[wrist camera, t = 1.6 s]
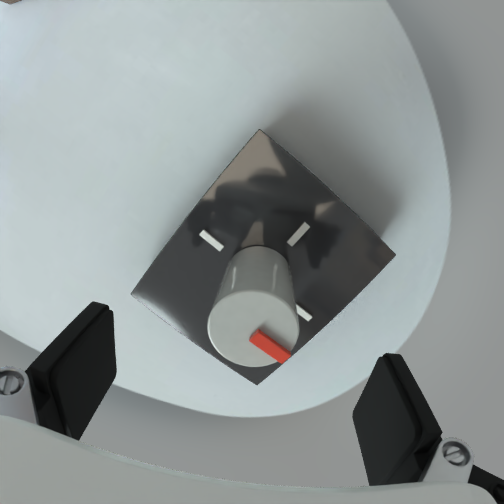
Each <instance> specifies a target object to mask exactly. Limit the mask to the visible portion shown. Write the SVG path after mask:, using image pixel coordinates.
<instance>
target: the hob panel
mask: <svg viewBox="0 0 504 504" xmlns="http://www.w3.org/2000/svg"><path fill="white" fill-rule="evenodd" d="M254 246H262V247H267V248H270V249H273V250H275V251H277V252H278V253H280V254H281V255H282V256H283V257H284V258H285V259H286V261H287V262H288V264H289V266H290V269H291V273H292V280H293V287H294V293H295V300H296V307H297V314H298V321H299V336H298V339H297V342H296V344H295V346H294V347H293V349H292V350H291V351H290V352H291V356H292V355H294V354H295V353H296V352H297V351H298V350H299V349H300V348H302V347H303V346H304V345H305V344H306V343H307V342H308V341H309V340H310V339H312V338H313V337H314V336H315V335H316V334H317V333H318V332H319V331H320V330H321V329H322V328H324V327H325V326H326V325H327V324H328V323H329V322H330V321H331V320H332V319H333V318H334V317H335V316H336V315H337V314H338V313H339V312H341V311H342V310H343V309H344V308H345V307H346V306H347V305H348V304H349V303H350V302H351V301H352V300H353V299H354V298H355V297H356V296H357V295H358V294H359V293H360V292H361V291H362V290H363V289H364V288H365V287H366V286H367V285H368V284H369V283H370V282H371V281H372V280H373V279H374V278H375V277H376V276H377V275H378V274H379V273H380V272H381V270H382V269H383V268H384V267H385V266H386V265H387V264H388V263H389V262H390V261H391V260H392V259H393V258H394V257H395V256H396V254H395V253H394V252H393V251H392V250H391V249H390V248H389V247H388V246H387V245H386V244H385V243H384V242H383V241H382V240H381V239H380V238H379V237H378V236H377V235H376V234H375V233H374V232H373V231H372V230H371V229H370V228H369V227H368V226H367V225H366V224H365V223H364V222H363V221H362V220H361V219H360V218H359V217H358V216H357V215H356V214H355V213H354V212H353V211H352V210H351V209H350V208H349V207H348V206H347V205H346V204H345V203H344V202H343V201H342V200H340V199H339V198H338V197H337V196H336V195H335V194H334V193H333V192H332V191H331V190H330V189H329V188H328V187H326V186H325V185H324V184H323V183H322V182H321V181H320V180H319V179H318V178H317V177H315V176H314V175H313V174H312V173H311V172H310V171H309V170H308V169H306V168H305V167H304V166H303V165H302V164H301V163H300V162H298V161H297V160H296V159H295V158H294V157H293V156H291V155H290V154H289V153H288V152H287V151H286V150H284V149H283V148H282V147H281V146H280V145H279V144H277V143H276V142H275V141H274V140H273V139H271V138H270V137H269V136H268V135H266V134H265V133H264V132H263V131H262V130H260V129H259V130H258V131H257V132H256V133H255V134H254V135H253V137H252V138H251V139H250V140H249V141H248V142H247V144H246V145H245V146H244V147H243V148H242V149H241V151H240V152H239V153H238V154H237V155H236V157H235V158H234V159H233V160H232V161H231V163H230V164H229V165H228V166H227V167H226V169H225V170H224V171H223V172H222V174H221V175H220V176H219V177H218V178H217V180H216V181H215V182H214V183H213V185H212V186H211V187H210V188H209V190H208V191H207V192H206V193H205V195H204V196H203V197H202V198H201V200H200V201H199V202H198V203H197V205H196V206H195V207H194V209H193V210H192V211H191V212H190V214H189V215H188V216H187V218H186V219H185V220H184V221H183V223H182V224H181V225H180V227H179V228H178V229H177V231H176V232H175V233H174V235H173V236H172V237H171V239H170V240H169V241H168V243H167V244H166V245H165V247H164V248H163V249H162V251H161V252H160V253H159V255H158V256H157V258H156V259H155V260H154V262H153V263H152V264H151V266H150V267H149V269H148V270H147V271H146V273H145V274H144V276H143V277H142V278H141V280H140V281H139V283H138V284H137V285H136V287H135V288H134V290H133V291H132V293H131V295H132V296H133V297H134V298H136V299H137V300H138V301H139V302H141V303H142V304H143V305H144V306H146V307H147V308H148V309H149V310H151V311H152V312H153V313H155V314H156V315H157V316H159V317H160V318H161V319H162V320H164V321H165V322H166V323H168V324H169V325H170V326H172V327H173V328H174V329H176V330H177V331H178V332H180V333H181V334H183V335H184V336H185V337H187V338H188V339H189V340H191V341H192V342H194V343H195V344H196V345H198V346H199V347H201V348H202V349H203V350H205V351H206V352H208V353H209V354H211V355H212V356H213V357H215V358H216V359H218V360H219V361H221V362H222V363H224V364H225V365H227V366H228V367H230V368H231V369H233V370H234V371H236V372H237V373H239V374H240V375H242V376H243V377H245V378H246V379H248V380H249V381H251V382H253V383H254V384H256V385H258V384H259V383H261V382H262V381H263V380H264V379H265V378H267V377H268V376H269V375H270V374H271V373H273V372H274V371H275V370H276V369H277V368H279V367H280V366H281V365H282V364H283V363H282V364H281V363H280V362H275V363H273V364H270V365H267V366H261V367H248V366H243V365H239V364H236V363H233V362H231V361H229V360H228V359H226V358H225V357H223V356H222V355H221V354H220V353H219V352H218V351H217V350H216V349H215V348H214V346H213V344H212V343H211V340H210V338H209V335H208V329H207V325H208V318H209V315H210V312H211V309H212V306H213V304H214V301H215V298H216V295H217V292H218V290H219V287H220V284H221V281H222V278H223V276H224V273H225V270H226V267H227V265H228V263H229V261H230V260H231V258H232V257H233V256H234V255H235V254H236V253H238V252H239V251H241V250H243V249H245V248H249V247H254ZM291 356H290V357H291ZM290 357H289V358H290ZM289 358H288V359H289ZM288 359H287V360H288ZM287 360H286V361H287ZM286 361H285V362H286Z"/></svg>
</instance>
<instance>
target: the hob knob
mask: <svg viewBox="0 0 504 504" xmlns="http://www.w3.org/2000/svg"><path fill="white" fill-rule="evenodd" d="M207 329H208V335H209V338H210V340H211V343H212V344H213V346H214V348H215V349H216V350H217V351H218V352H219V353H220V354H221V355H222V356H223V357H225V358H226V359H228V360H229V361H231V362H233V363H236V364H239V365H243V366H248V367H261V366H267V365H270V364H273V363H275V362H280V363H281V364H282V363H284V362H285V361H286V360H287V359H288V358H289V357H290V356H291V352H290V351H291V350H292V349H293V347H294V346H295V344H296V342H297V339H298V336H299V321H298V314H297V307H296V300H295V293H294V287H293V280H292V273H291V269H290V266H289V264H288V262H287V261H286V259H285V258H284V257H283V256H282V255H281V254H280V253H278V252H277V251H275V250H273V249H270V248H267V247H262V246H254V247H249V248H245V249H243V250H241V251H239V252H238V253H236V254H235V255H234V256H233V257H232V258H231V260H230V261H229V263H228V265H227V267H226V270H225V273H224V276H223V278H222V281H221V284H220V287H219V290H218V292H217V295H216V298H215V301H214V304H213V306H212V309H211V312H210V315H209V318H208V325H207Z"/></svg>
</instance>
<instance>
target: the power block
mask: <svg viewBox="0 0 504 504" xmlns="http://www.w3.org/2000/svg"><path fill="white" fill-rule="evenodd" d="M0 1H2V2H5V3H8V4H13V3H15V2H18V1H21V0H0Z"/></svg>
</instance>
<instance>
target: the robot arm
mask: <svg viewBox="0 0 504 504" xmlns="http://www.w3.org/2000/svg"><path fill="white" fill-rule="evenodd" d="M116 372H117V368H116V355H115V339H114V317H113V311H112V310H109V306H108V305H105V304H101V303H98V302H91V303H90V304H89V305H88V306H87V307H86V308H85V309H84V310H83V311H82V312H81V313H80V314H79V315H78V316H77V317H76V318H75V319H74V320H73V321H72V322H71V323H70V324H69V325H68V326H67V327H66V328H65V329H64V330H63V331H62V332H61V333H60V334H59V335H58V336H57V337H56V338H55V339H54V340H53V342H52V343H51V344H50V345H49V346H48V347H47V348H46V349H45V350H44V351H43V352H42V353H41V354H40V355H39V356H38V358H37V359H36V360H35V361H34V362H33V363H32V364H31V365H30V366H29V367H28V369H27V370H26V371H25V372H24V371H23V370H21V369H20V368H16V367H13V366H11V367H10V366H6V367H2V368H0V504H504V480H502V479H500V478H498V477H496V476H494V475H492V474H490V473H489V472H486V471H485V470H483V469H480V468H479V467H477V466H475V465H473V462H474V454H473V451H472V449H471V448H470V447H469V445H468V444H467V443H465V442H463V441H462V440H460V439H457V438H446V439H444V440H442V438H441V434H442V430H441V428H440V426H439V425H438V422H437V421H436V419H435V417H434V415H433V413H432V411H431V409H430V407H429V405H428V403H427V401H426V399H425V397H424V395H423V394H422V392H421V390H420V388H419V386H418V384H417V383H416V381H415V379H414V377H413V375H412V373H411V372H410V370H409V368H408V366H407V364H406V363H405V361H404V359H403V357H402V356H401V355H400V354H391V353H385V354H384V355H383V357H379V358H378V360H377V362H376V364H375V367H374V369H373V371H372V373H371V375H370V378H369V380H368V382H367V384H366V386H365V388H364V390H363V392H362V394H361V396H360V398H359V400H358V402H357V404H356V406H355V408H354V410H353V421H354V425H355V429H356V433H357V437H358V441H359V444H360V449H361V453H362V457H363V461H364V465H365V469H366V473H367V477H368V482H369V486H361V487H294V486H278V485H266V484H255V483H247V482H239V481H232V480H225V479H219V478H212V477H207V476H201V475H196V474H191V473H186V472H182V471H177V470H173V469H168V468H164V467H160V466H156V465H152V464H149V463H145V462H141V461H138V460H134V459H131V458H128V457H124V456H121V455H118V454H115V453H112V452H109V451H106V450H103V449H100V448H97V447H94V446H92V445H89V444H86V443H83V442H80V441H79V440H80V438H81V436H82V434H83V432H84V431H85V429H86V427H87V425H88V424H89V422H90V420H91V418H92V417H93V415H94V413H95V411H96V409H97V408H98V406H99V405H100V403H101V401H102V399H103V398H104V396H105V394H106V393H107V390H108V389H109V388H110V386H111V384H112V382H113V381H114V379H115V377H116Z"/></svg>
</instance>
